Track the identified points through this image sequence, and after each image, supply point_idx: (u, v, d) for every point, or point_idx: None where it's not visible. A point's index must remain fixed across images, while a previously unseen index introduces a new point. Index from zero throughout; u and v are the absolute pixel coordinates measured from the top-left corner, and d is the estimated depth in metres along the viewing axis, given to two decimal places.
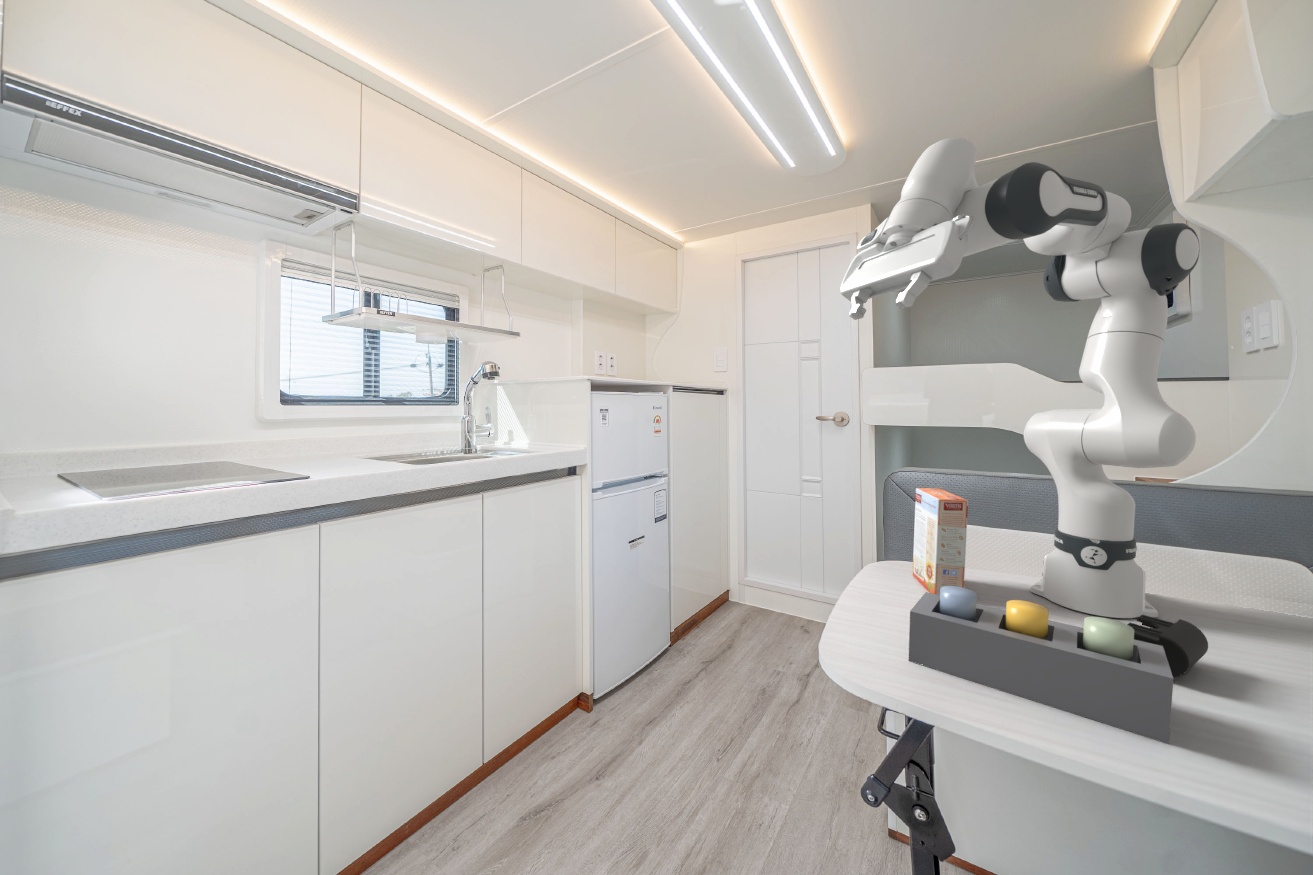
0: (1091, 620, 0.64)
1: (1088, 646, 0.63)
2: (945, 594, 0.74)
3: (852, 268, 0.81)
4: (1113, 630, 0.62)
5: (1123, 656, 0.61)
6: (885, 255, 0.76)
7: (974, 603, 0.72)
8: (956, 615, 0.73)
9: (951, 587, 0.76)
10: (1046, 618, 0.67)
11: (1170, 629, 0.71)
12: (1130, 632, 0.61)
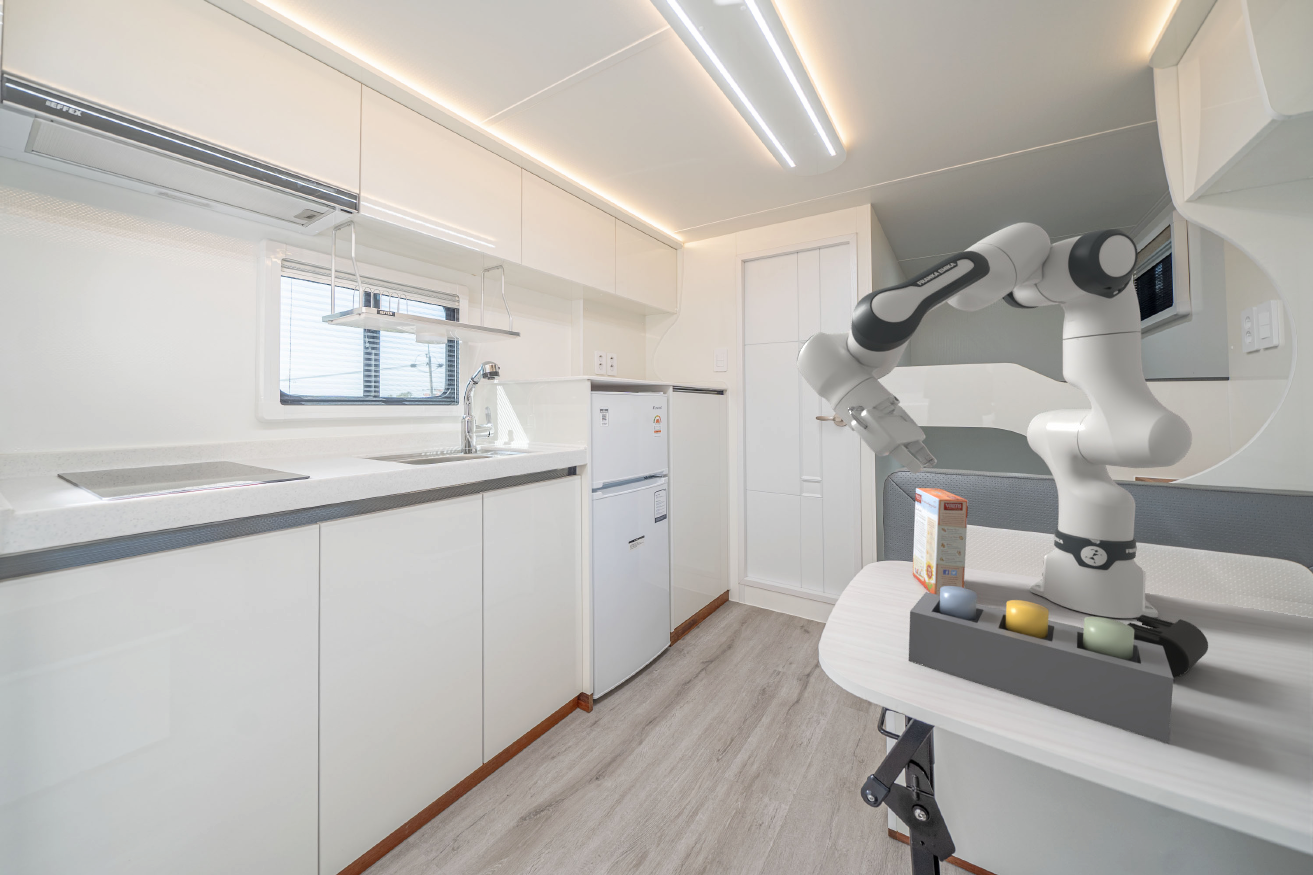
0: (1091, 620, 0.64)
1: (1088, 646, 0.63)
2: (945, 594, 0.74)
3: None
4: (1113, 630, 0.62)
5: (1123, 656, 0.61)
6: None
7: (974, 603, 0.72)
8: (956, 615, 0.73)
9: (951, 587, 0.76)
10: (1046, 618, 0.67)
11: (1170, 629, 0.71)
12: (1130, 632, 0.61)
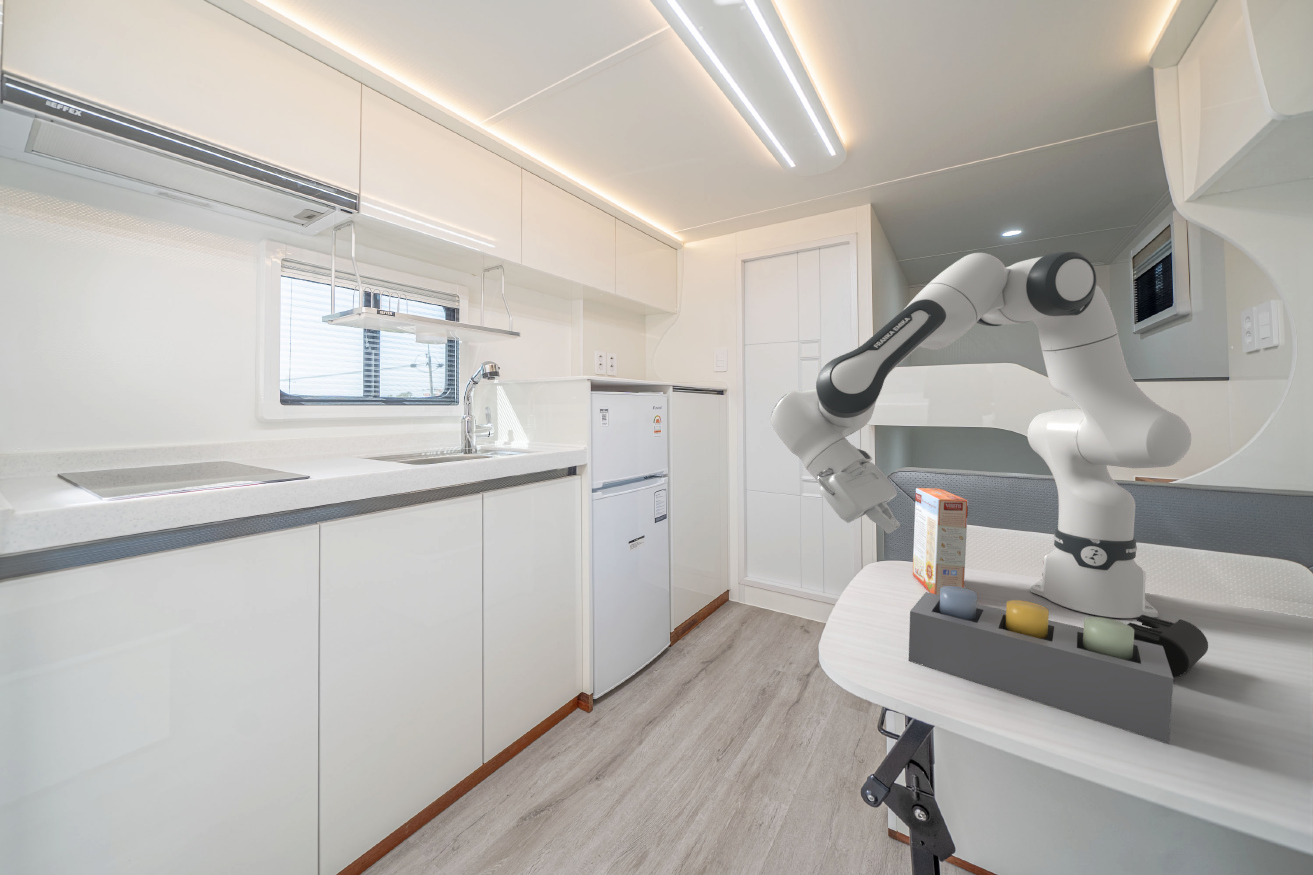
0: (1091, 620, 0.64)
1: (1088, 646, 0.63)
2: (945, 594, 0.74)
3: None
4: (1113, 630, 0.62)
5: (1123, 656, 0.61)
6: None
7: (974, 603, 0.72)
8: (956, 615, 0.73)
9: (951, 587, 0.76)
10: (1046, 618, 0.67)
11: (1170, 629, 0.71)
12: (1130, 632, 0.61)
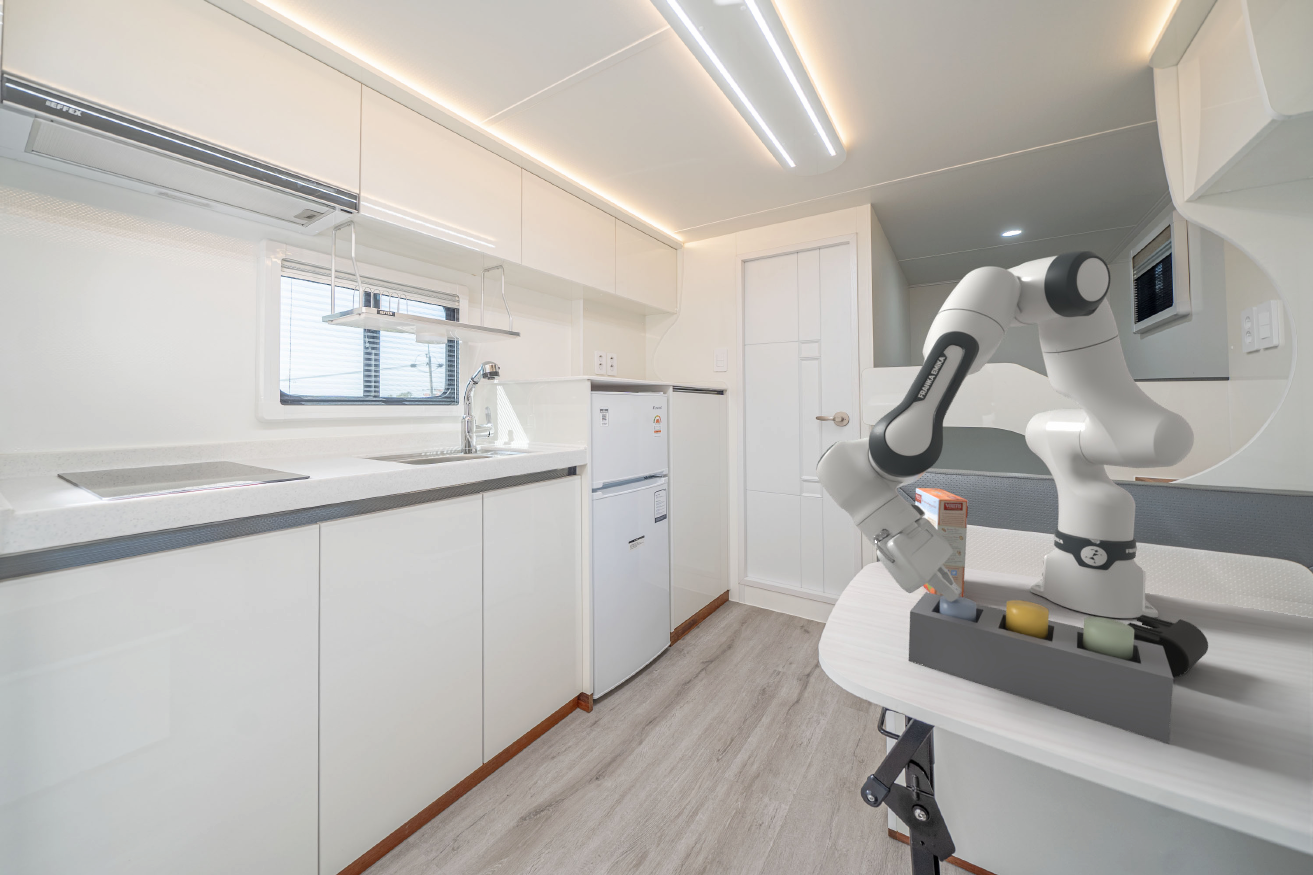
0: (1091, 620, 0.64)
1: (1088, 646, 0.63)
2: (945, 604, 0.74)
3: None
4: (1113, 630, 0.62)
5: (1123, 656, 0.61)
6: None
7: (974, 613, 0.73)
8: None
9: None
10: (1046, 618, 0.67)
11: (1170, 629, 0.71)
12: (1130, 632, 0.61)
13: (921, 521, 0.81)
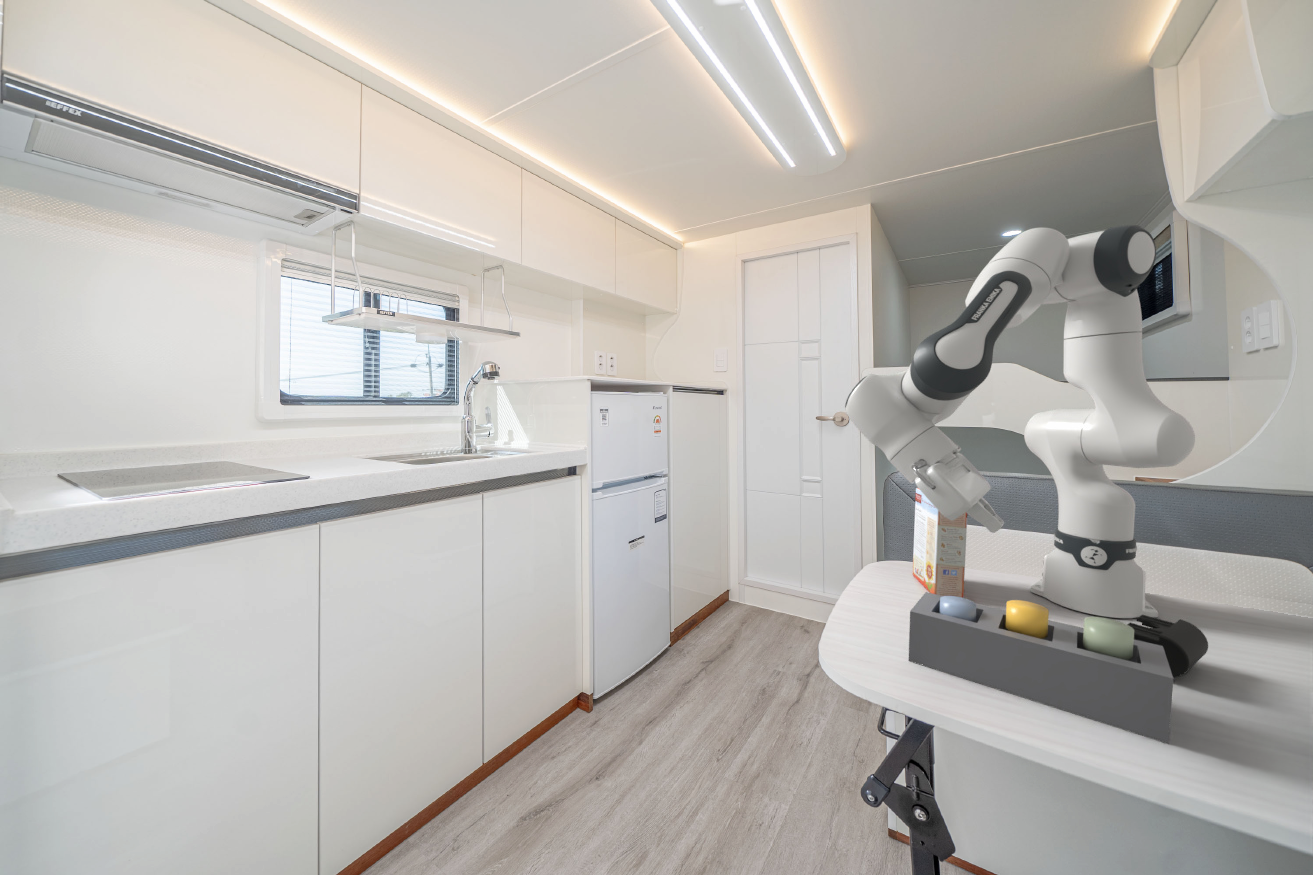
0: (1091, 620, 0.64)
1: (1088, 646, 0.63)
2: (945, 604, 0.74)
3: None
4: (1113, 630, 0.62)
5: (1123, 656, 0.61)
6: None
7: (974, 613, 0.73)
8: None
9: (951, 597, 0.76)
10: (1046, 618, 0.67)
11: (1170, 629, 0.71)
12: (1130, 632, 0.61)
13: (958, 454, 0.77)
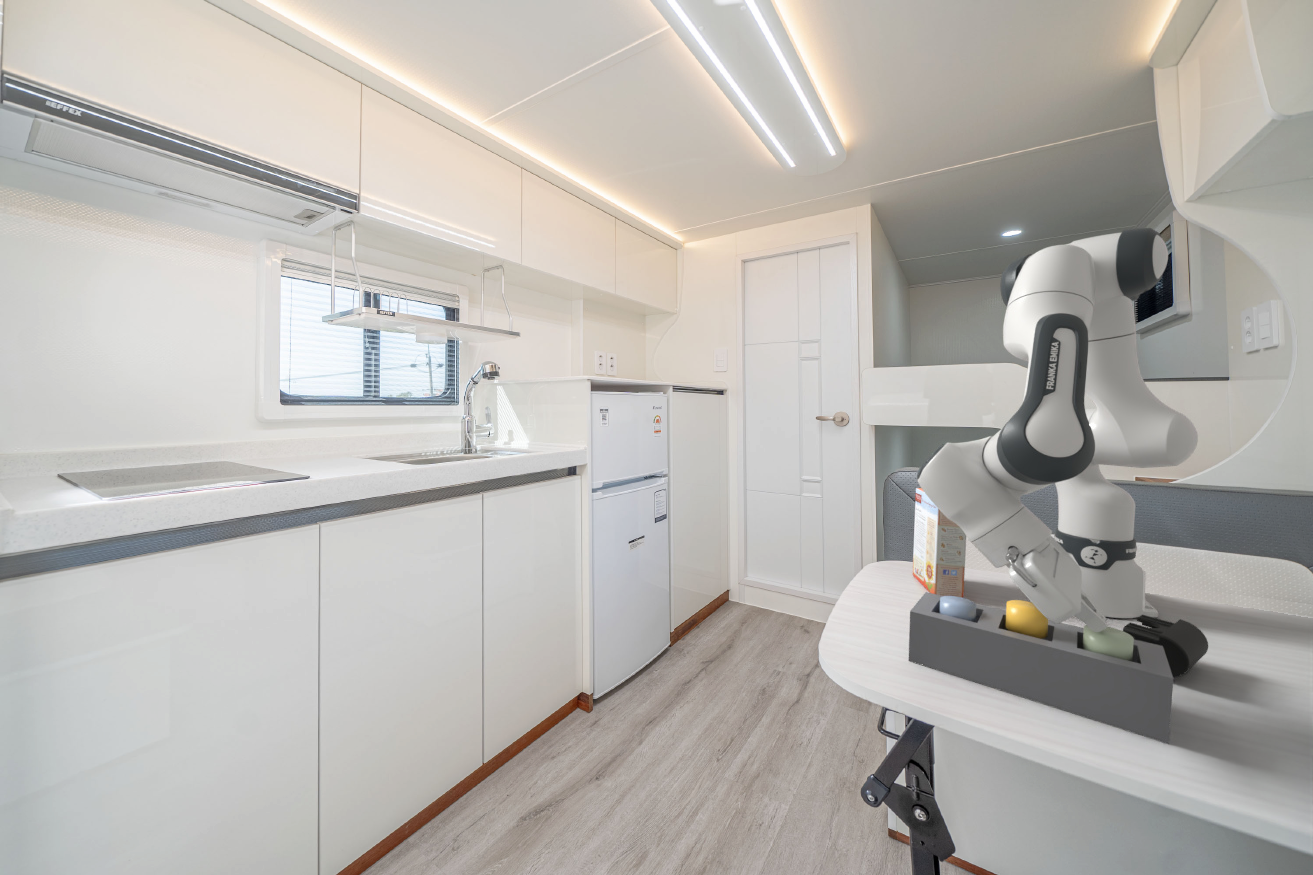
0: None
1: None
2: (945, 604, 0.74)
3: None
4: (1112, 638, 0.62)
5: None
6: None
7: (974, 613, 0.73)
8: None
9: (951, 597, 0.76)
10: (1046, 618, 0.67)
11: (1170, 629, 0.71)
12: (1130, 641, 0.61)
13: None
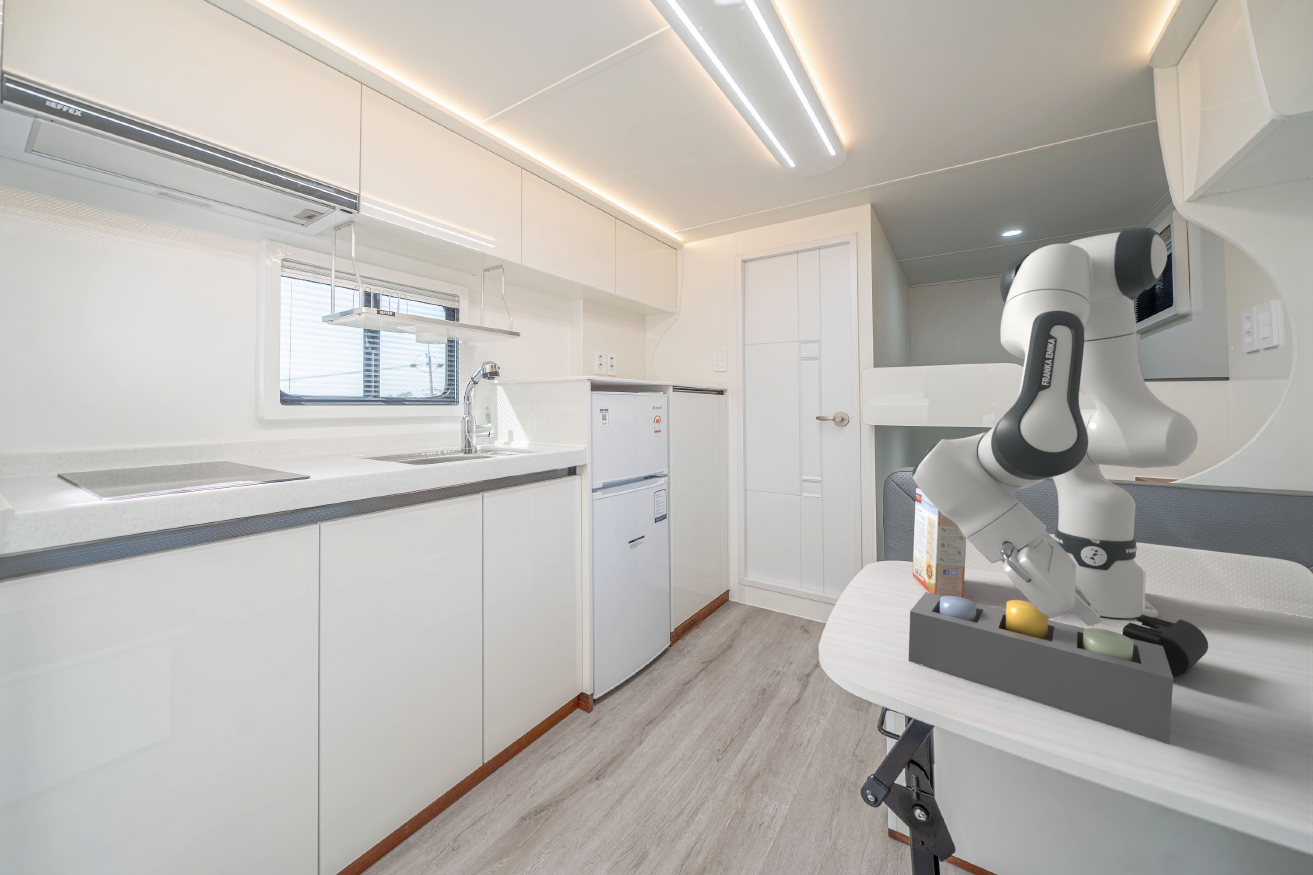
0: (1090, 632, 0.64)
1: None
2: (945, 604, 0.74)
3: None
4: (1112, 642, 0.62)
5: None
6: None
7: (974, 613, 0.73)
8: None
9: (951, 597, 0.76)
10: (1046, 618, 0.67)
11: (1170, 629, 0.71)
12: (1129, 644, 0.61)
13: None
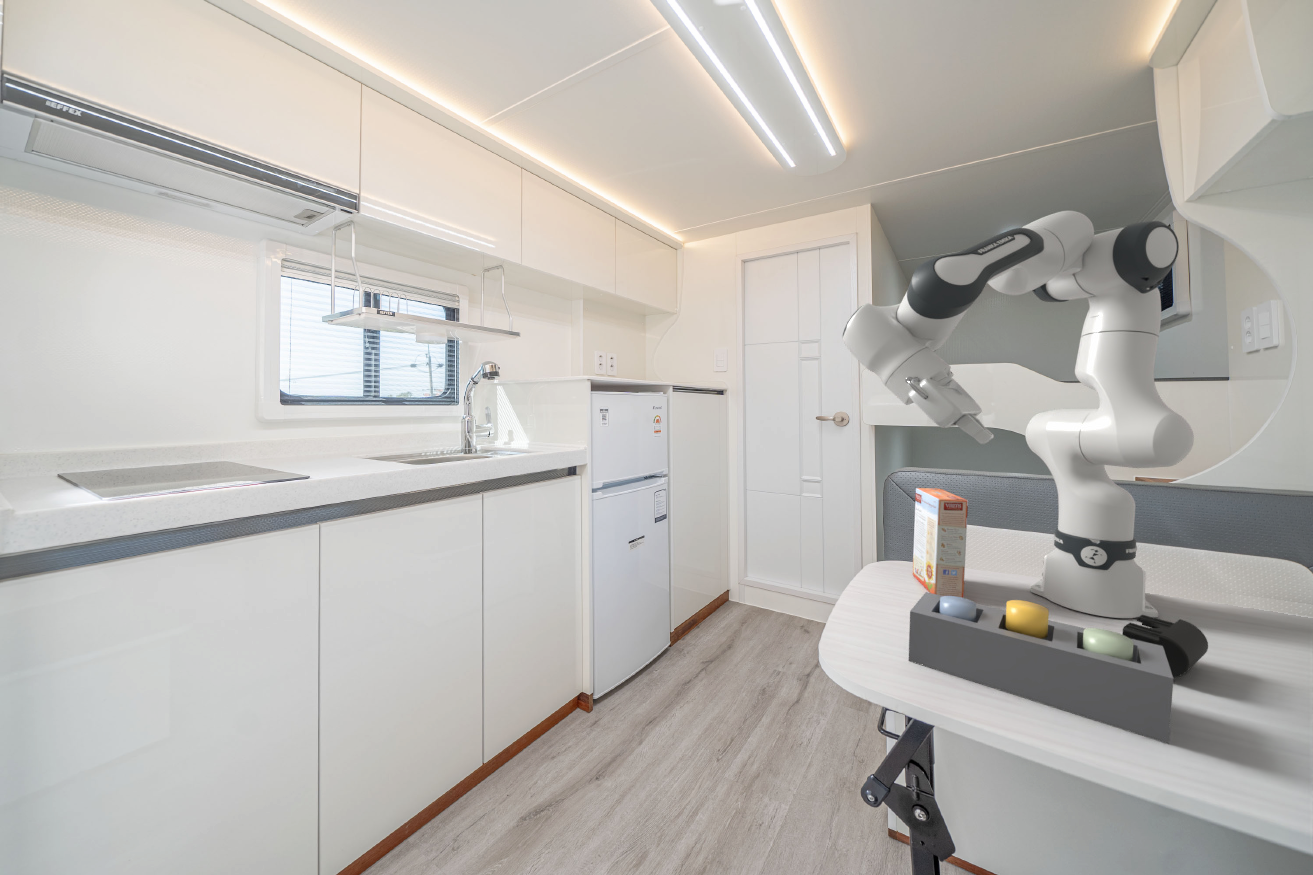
0: (1090, 632, 0.64)
1: None
2: (945, 604, 0.74)
3: None
4: (1112, 642, 0.62)
5: None
6: None
7: (974, 613, 0.73)
8: None
9: (951, 597, 0.76)
10: (1046, 618, 0.67)
11: (1170, 629, 0.71)
12: (1129, 644, 0.61)
13: (950, 377, 0.81)
